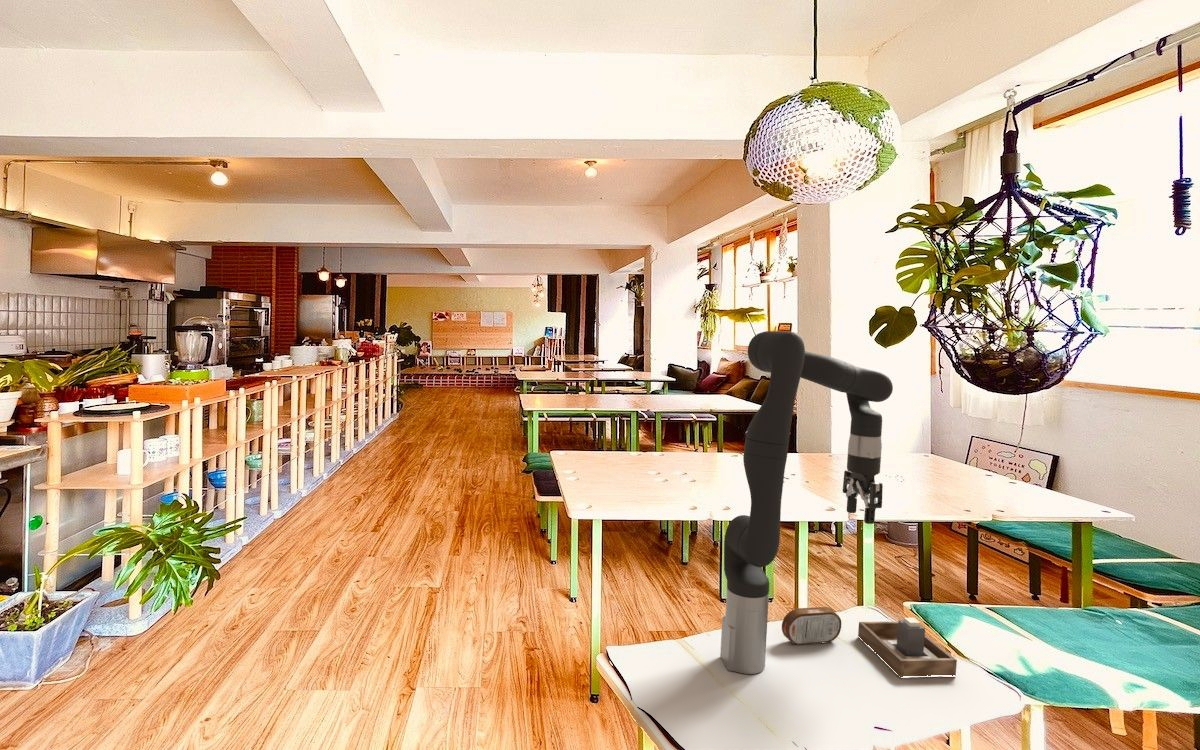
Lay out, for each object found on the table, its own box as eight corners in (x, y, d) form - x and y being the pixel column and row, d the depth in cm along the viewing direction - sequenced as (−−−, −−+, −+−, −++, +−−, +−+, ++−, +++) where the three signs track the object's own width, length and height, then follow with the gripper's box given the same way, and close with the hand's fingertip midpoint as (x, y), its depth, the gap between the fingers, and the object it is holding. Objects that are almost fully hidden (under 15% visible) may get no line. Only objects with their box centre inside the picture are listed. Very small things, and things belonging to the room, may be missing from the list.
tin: (835, 637, 151) (837, 604, 151) (842, 643, 148) (844, 610, 148) (779, 641, 148) (781, 608, 148) (786, 648, 145) (788, 614, 145)
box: (900, 678, 134) (901, 660, 133) (857, 637, 152) (859, 621, 151) (955, 677, 135) (956, 660, 135) (907, 636, 153) (908, 621, 152)
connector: (906, 662, 139) (908, 624, 138) (896, 653, 143) (898, 616, 142) (922, 662, 139) (925, 624, 139) (912, 653, 143) (915, 616, 143)
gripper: (835, 447, 156) (831, 509, 157) (865, 459, 142) (860, 527, 143) (863, 447, 157) (859, 509, 158) (895, 459, 142) (890, 527, 144)
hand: (859, 517), depth 150 cm, fingers open, 8 cm apart
